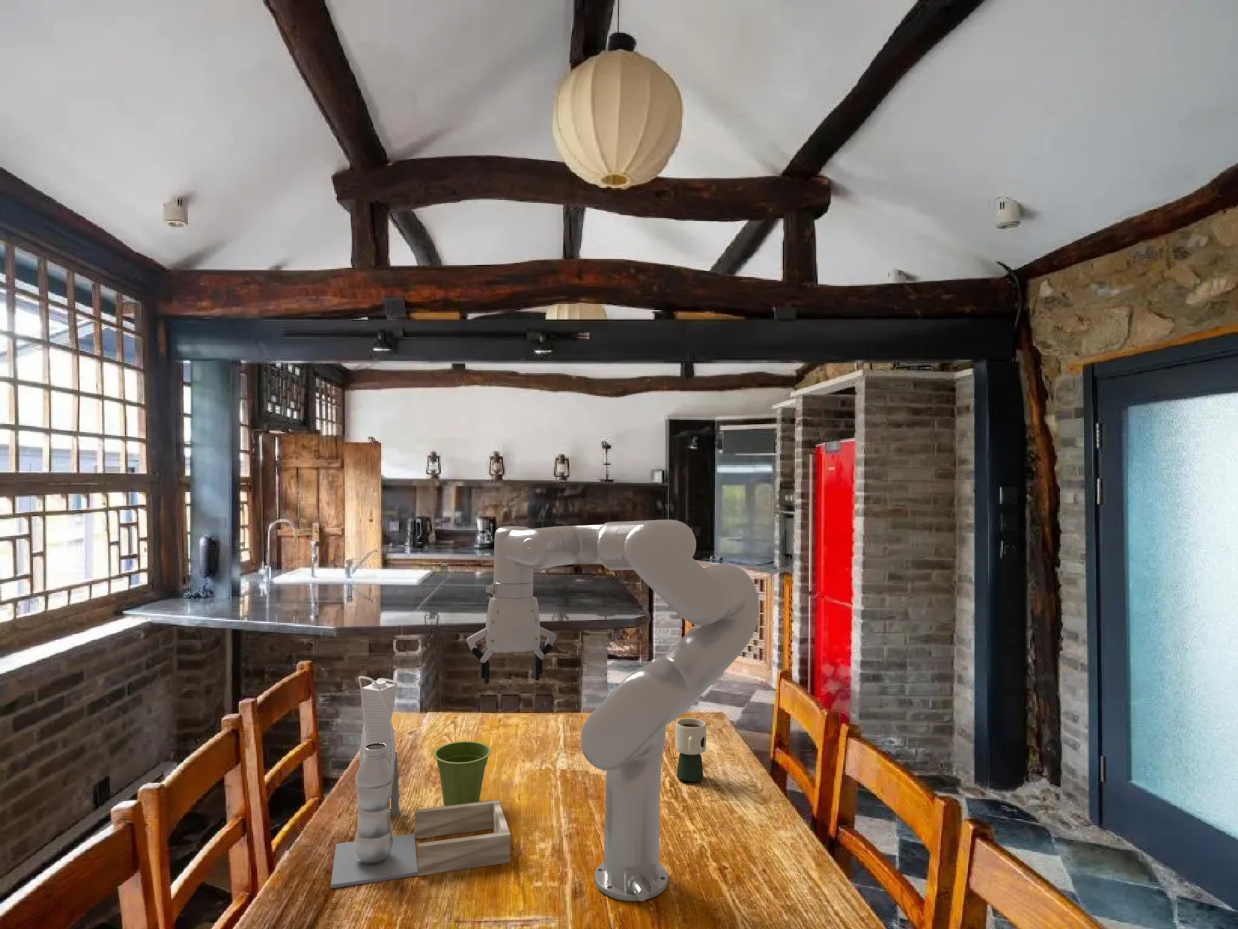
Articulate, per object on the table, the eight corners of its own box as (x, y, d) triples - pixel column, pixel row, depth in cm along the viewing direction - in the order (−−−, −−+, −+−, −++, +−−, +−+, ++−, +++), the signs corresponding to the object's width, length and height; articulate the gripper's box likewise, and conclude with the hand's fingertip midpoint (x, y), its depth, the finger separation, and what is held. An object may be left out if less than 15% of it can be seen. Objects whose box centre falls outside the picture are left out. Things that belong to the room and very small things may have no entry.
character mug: (706, 790, 160) (707, 731, 161) (674, 788, 161) (675, 730, 161) (704, 770, 171) (705, 715, 172) (674, 769, 172) (675, 714, 172)
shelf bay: (509, 862, 129) (510, 834, 129) (417, 876, 124) (418, 847, 124) (497, 825, 143) (498, 799, 143) (414, 836, 138) (414, 810, 138)
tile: (417, 875, 124) (417, 872, 124) (330, 888, 120) (330, 885, 120) (414, 836, 137) (414, 833, 137) (336, 847, 133) (336, 843, 133)
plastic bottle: (381, 871, 124) (383, 754, 125) (345, 866, 125) (348, 751, 126) (399, 852, 130) (401, 741, 131) (365, 847, 132) (368, 738, 132)
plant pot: (420, 812, 147) (422, 757, 148) (453, 789, 159) (454, 738, 159) (470, 822, 143) (471, 766, 144) (500, 798, 154) (501, 745, 155)
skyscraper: (356, 822, 143) (359, 681, 144) (353, 805, 150) (357, 671, 151) (399, 815, 146) (403, 678, 147) (395, 799, 154) (398, 668, 154)
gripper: (469, 595, 132) (467, 689, 131) (561, 592, 137) (559, 682, 137) (465, 589, 139) (463, 678, 138) (552, 586, 144) (551, 672, 144)
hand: (511, 680), depth 138 cm, fingers open, 9 cm apart
